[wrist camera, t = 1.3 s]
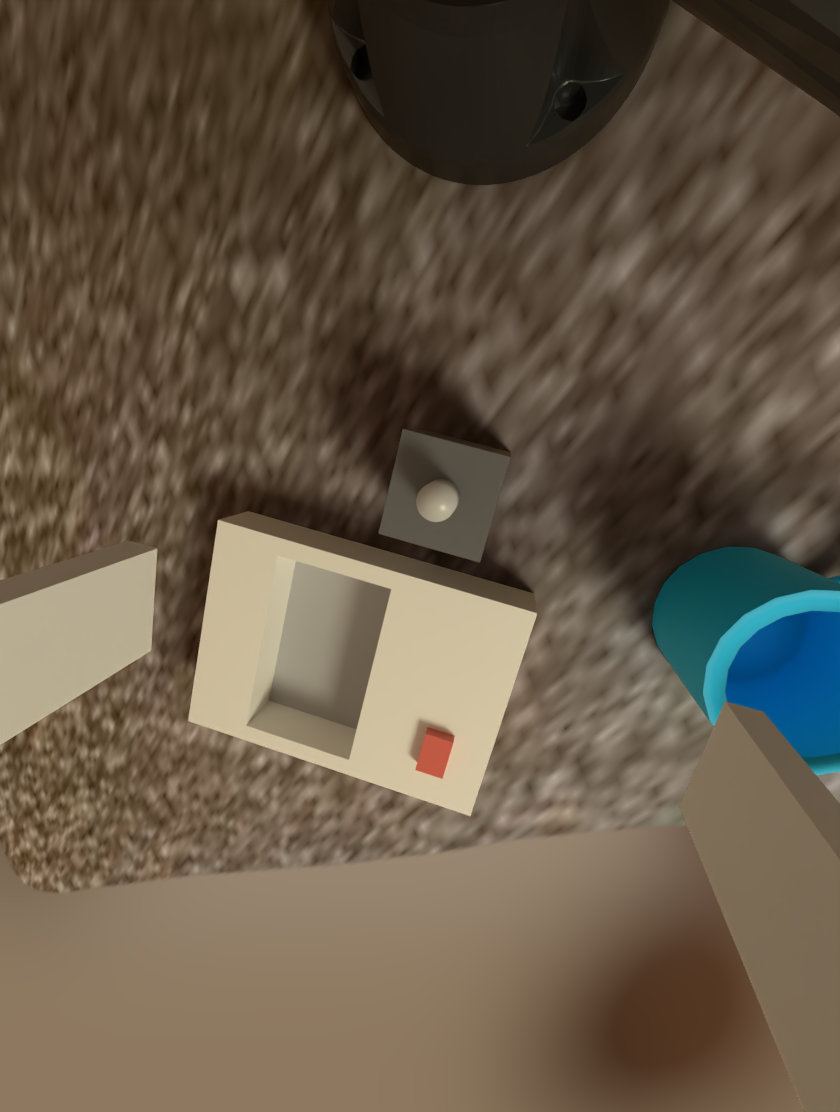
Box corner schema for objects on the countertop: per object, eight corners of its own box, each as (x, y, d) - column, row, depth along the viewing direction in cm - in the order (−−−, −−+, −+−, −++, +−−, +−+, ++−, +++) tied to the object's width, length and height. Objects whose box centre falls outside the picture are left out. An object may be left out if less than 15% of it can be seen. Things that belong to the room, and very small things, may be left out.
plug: (427, 430, 29) (393, 428, 21) (510, 452, 29) (510, 459, 20) (407, 511, 31) (366, 542, 22) (486, 534, 30) (477, 574, 21)
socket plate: (248, 511, 32) (211, 522, 28) (534, 593, 30) (538, 617, 26) (218, 693, 35) (181, 727, 31) (474, 778, 34) (469, 824, 30)
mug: (684, 705, 30) (745, 799, 23) (628, 582, 29) (671, 636, 22) (913, 627, 27) (1074, 705, 20) (860, 488, 26) (1007, 511, 19)
